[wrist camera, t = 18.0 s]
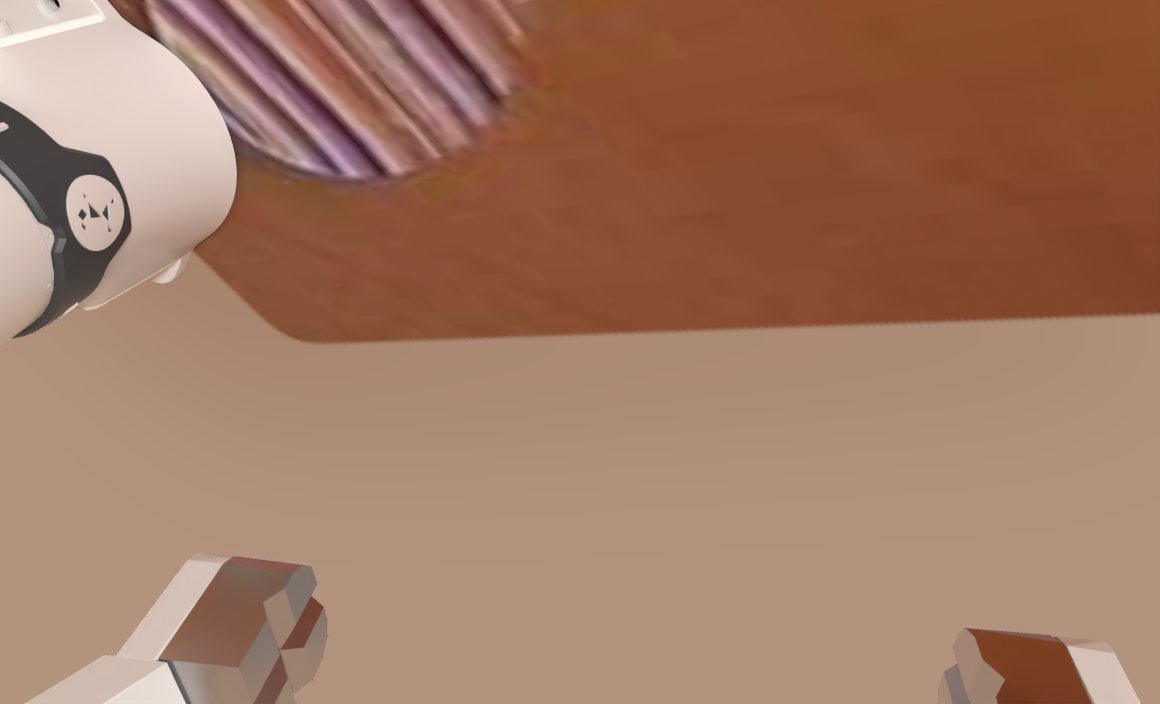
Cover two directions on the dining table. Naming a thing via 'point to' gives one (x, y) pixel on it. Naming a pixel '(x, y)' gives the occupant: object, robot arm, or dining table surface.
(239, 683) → the robot arm
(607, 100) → the dining table surface
